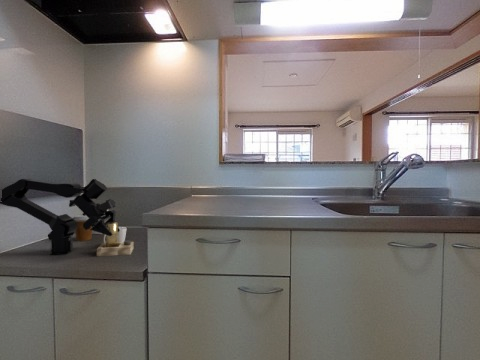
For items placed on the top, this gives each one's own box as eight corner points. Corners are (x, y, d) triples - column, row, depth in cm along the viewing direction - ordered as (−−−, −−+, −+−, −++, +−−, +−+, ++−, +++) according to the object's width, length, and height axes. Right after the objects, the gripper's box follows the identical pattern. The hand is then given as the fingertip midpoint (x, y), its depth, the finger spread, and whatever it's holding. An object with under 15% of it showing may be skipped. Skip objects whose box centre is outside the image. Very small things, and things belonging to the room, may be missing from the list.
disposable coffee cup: (67, 241, 126) (68, 216, 126) (82, 236, 136) (82, 213, 136) (85, 242, 125) (85, 217, 125) (99, 237, 134) (99, 214, 134)
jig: (96, 256, 104) (96, 245, 104) (102, 249, 113) (102, 239, 113) (130, 254, 107) (130, 243, 107) (133, 248, 116) (133, 238, 116)
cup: (129, 246, 120) (129, 228, 120) (106, 250, 113) (106, 231, 113) (123, 243, 125) (123, 226, 125) (101, 246, 118) (101, 229, 118)
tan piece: (107, 254, 107) (107, 224, 106) (104, 252, 110) (105, 222, 110) (118, 252, 109) (118, 223, 109) (116, 250, 113) (116, 221, 113)
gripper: (91, 195, 100) (120, 224, 101) (112, 192, 118) (136, 216, 119) (69, 215, 99) (99, 244, 100) (94, 209, 118) (118, 233, 119)
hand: (115, 233), depth 110 cm, fingers open, 7 cm apart
